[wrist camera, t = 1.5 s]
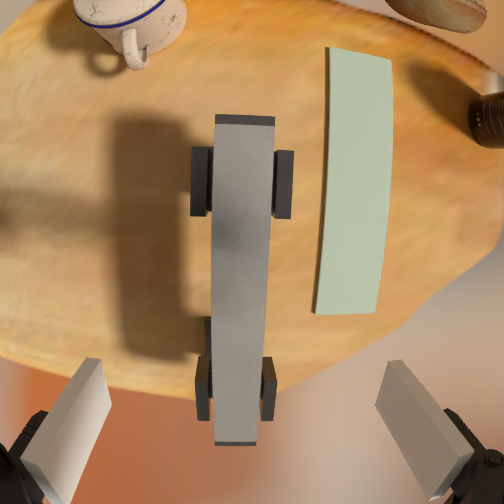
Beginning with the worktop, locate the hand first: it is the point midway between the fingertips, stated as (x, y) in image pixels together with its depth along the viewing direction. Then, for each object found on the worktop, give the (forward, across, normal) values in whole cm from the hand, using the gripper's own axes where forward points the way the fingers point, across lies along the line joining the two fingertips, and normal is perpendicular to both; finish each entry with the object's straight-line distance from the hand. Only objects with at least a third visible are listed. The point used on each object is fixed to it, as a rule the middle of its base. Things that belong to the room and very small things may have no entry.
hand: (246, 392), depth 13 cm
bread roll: (+20, +22, +33) cm, 44 cm away
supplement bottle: (+20, +30, +19) cm, 40 cm away
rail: (+12, 0, 0) cm, 12 cm away
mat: (+19, +12, +9) cm, 24 cm away
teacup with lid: (+19, -10, +24) cm, 33 cm away
